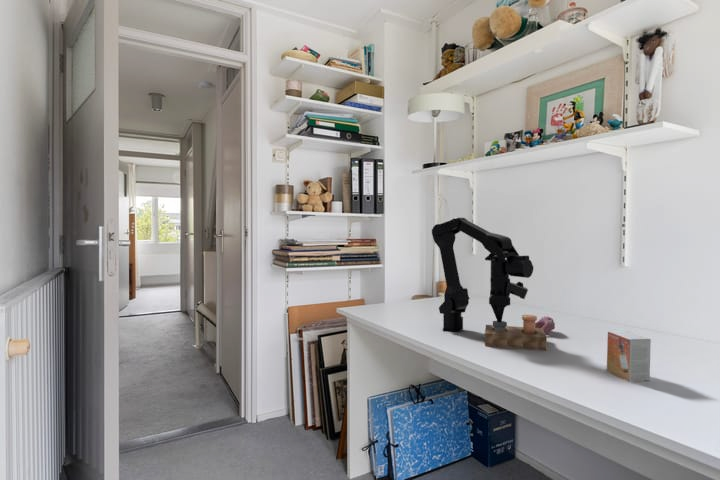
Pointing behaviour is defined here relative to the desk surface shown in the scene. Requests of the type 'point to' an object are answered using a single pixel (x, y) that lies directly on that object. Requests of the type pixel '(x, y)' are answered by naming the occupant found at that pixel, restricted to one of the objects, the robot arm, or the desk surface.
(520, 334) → the walnut block
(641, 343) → the small box
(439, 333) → the desk surface
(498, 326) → the grey plug
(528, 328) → the terracotta plug
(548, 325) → the video game controller
